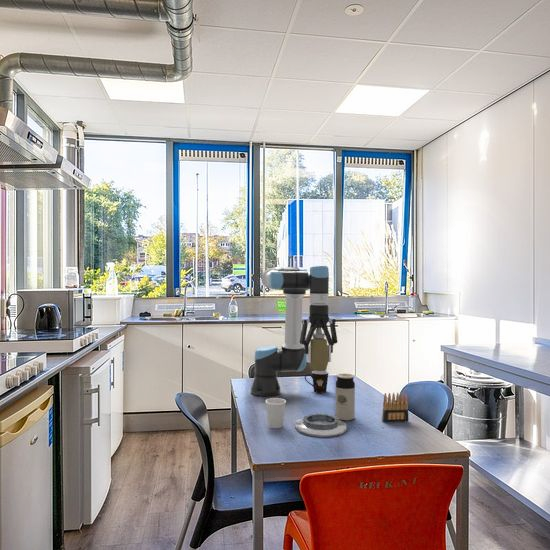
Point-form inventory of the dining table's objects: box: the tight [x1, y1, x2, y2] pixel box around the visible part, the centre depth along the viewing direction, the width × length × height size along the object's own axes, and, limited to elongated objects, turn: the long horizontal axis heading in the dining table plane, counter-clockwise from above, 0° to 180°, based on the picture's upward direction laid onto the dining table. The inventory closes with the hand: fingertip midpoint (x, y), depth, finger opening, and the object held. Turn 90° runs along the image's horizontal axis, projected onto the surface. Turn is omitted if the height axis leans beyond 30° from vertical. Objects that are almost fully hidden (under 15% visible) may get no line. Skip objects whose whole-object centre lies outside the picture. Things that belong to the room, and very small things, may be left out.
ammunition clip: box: [381, 392, 410, 423], centre depth 181 cm, size 11×2×12 cm, turn 97°
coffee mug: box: [304, 370, 329, 394], centre depth 229 cm, size 12×9×10 cm
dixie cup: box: [265, 397, 287, 429], centre depth 174 cm, size 8×8×10 cm
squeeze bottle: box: [308, 328, 330, 371], centre depth 174 cm, size 8×8×18 cm
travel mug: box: [335, 372, 356, 421], centre depth 185 cm, size 8×8×18 cm
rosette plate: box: [294, 413, 347, 438], centre depth 172 cm, size 20×20×4 cm
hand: (318, 361), depth 174 cm, fingers closed on squeeze bottle, 8 cm apart
